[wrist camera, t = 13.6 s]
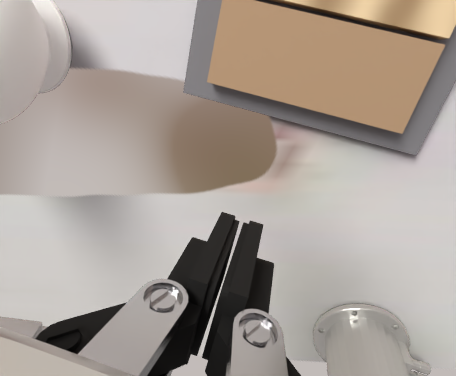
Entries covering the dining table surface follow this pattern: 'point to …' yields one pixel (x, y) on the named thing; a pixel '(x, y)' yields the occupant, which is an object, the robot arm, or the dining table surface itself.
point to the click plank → (391, 14)
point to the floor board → (312, 116)
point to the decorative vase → (30, 53)
